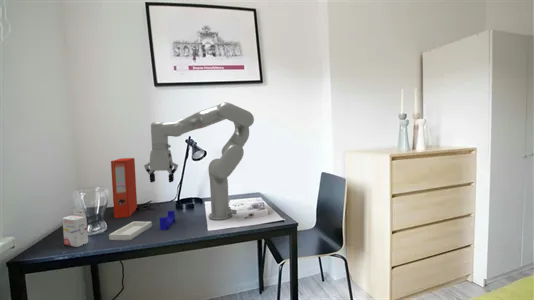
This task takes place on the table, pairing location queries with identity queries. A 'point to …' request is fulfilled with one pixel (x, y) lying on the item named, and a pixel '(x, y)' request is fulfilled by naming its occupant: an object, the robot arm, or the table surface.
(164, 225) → the cable clip
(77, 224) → the ink cartridge box
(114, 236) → the tray
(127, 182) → the file binder
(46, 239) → the table surface
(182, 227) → the table surface
